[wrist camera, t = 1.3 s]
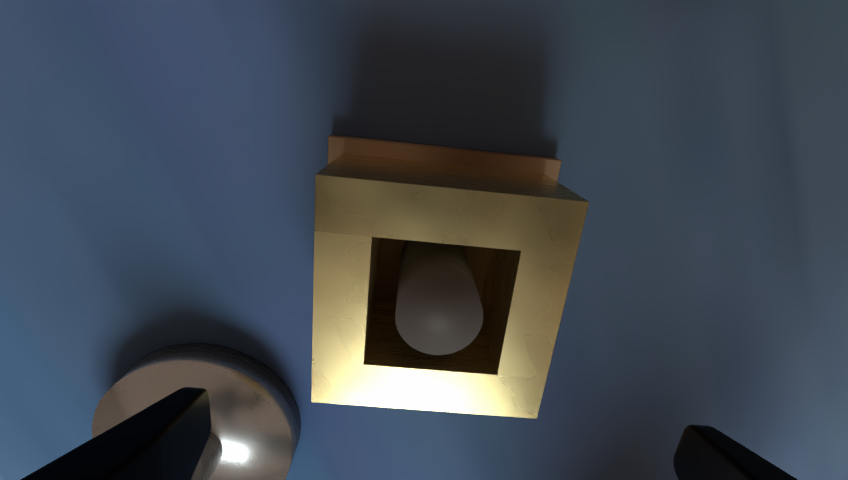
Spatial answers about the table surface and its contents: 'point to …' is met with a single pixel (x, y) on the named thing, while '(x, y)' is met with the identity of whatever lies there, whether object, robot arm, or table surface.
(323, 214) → the brass square frame
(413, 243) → the walnut stand
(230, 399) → the cylinder
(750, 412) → the table surface
